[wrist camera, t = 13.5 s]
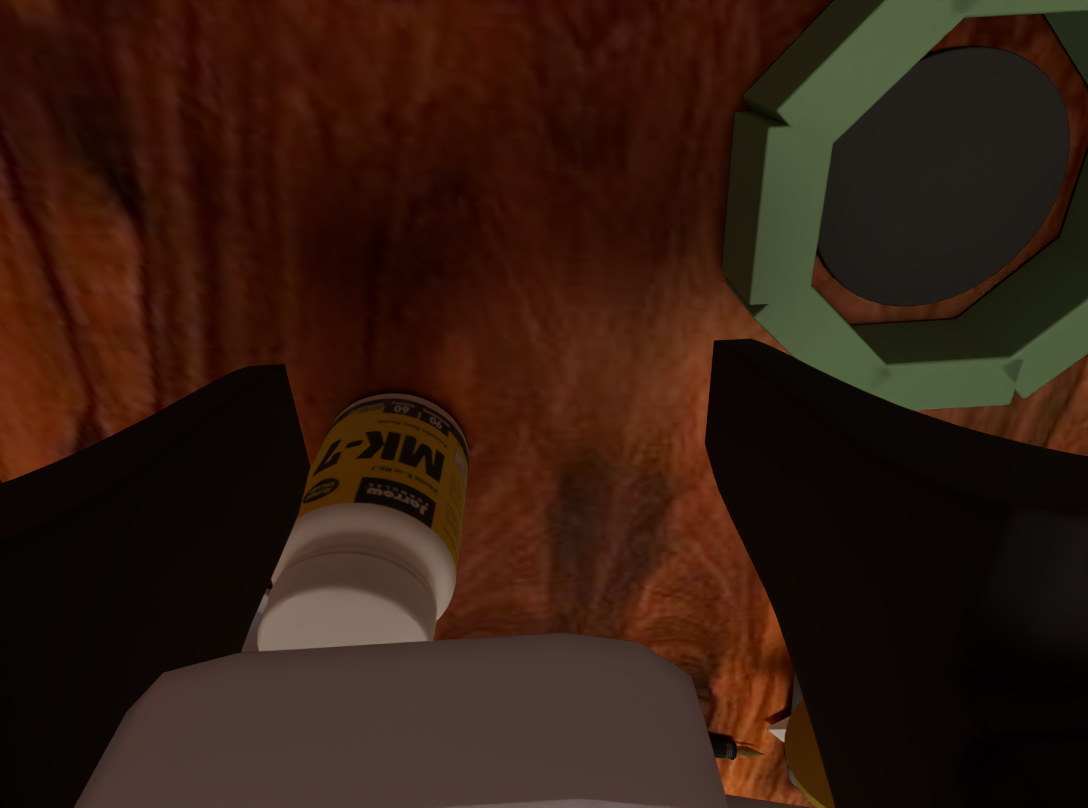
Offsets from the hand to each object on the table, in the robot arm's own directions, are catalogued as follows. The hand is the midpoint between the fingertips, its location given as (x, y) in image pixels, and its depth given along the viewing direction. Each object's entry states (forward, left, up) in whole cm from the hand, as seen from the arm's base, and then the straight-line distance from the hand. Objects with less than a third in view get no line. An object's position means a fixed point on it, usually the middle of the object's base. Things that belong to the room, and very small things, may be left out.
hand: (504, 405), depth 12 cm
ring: (+9, -8, -9) cm, 15 cm away
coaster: (+9, -8, -9) cm, 15 cm away
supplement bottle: (-8, -2, -10) cm, 12 cm away
